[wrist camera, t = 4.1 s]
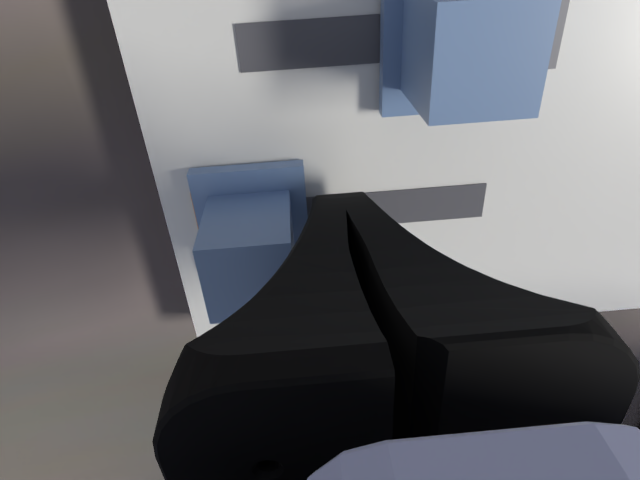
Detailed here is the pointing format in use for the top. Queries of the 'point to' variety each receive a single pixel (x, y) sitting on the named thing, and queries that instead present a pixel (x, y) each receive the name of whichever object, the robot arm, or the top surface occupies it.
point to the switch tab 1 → (244, 228)
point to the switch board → (400, 136)
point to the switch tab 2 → (465, 58)
